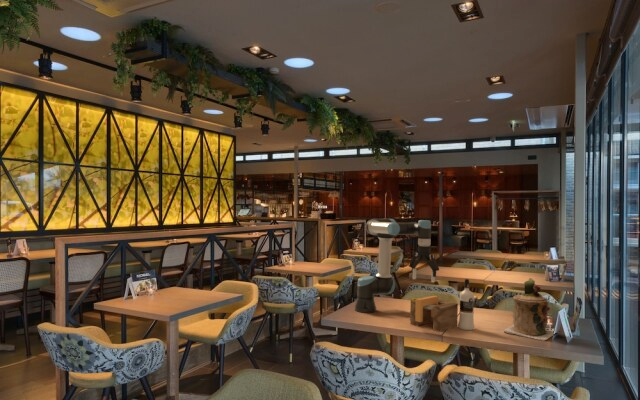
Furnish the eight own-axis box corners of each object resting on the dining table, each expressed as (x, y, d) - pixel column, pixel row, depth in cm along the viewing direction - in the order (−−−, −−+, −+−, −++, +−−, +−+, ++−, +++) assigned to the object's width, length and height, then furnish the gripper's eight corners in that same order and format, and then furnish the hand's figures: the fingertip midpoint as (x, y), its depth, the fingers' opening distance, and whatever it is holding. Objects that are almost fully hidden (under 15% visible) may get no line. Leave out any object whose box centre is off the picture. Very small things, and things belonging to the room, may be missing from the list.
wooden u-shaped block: (415, 321, 276) (415, 299, 276) (433, 316, 289) (433, 295, 289) (420, 322, 273) (420, 300, 274) (438, 317, 286) (438, 296, 286)
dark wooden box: (410, 324, 288) (410, 301, 288) (427, 319, 300) (427, 298, 301) (441, 331, 272) (441, 307, 272) (457, 326, 284) (457, 303, 284)
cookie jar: (501, 333, 272) (502, 278, 272) (516, 325, 290) (516, 274, 290) (546, 341, 255) (547, 283, 255) (559, 333, 274) (559, 279, 274)
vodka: (469, 326, 285) (469, 277, 286) (477, 330, 276) (478, 280, 277) (455, 326, 283) (456, 278, 284) (463, 331, 274) (464, 280, 275)
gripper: (403, 244, 287) (403, 278, 287) (438, 247, 268) (437, 284, 268) (411, 243, 292) (410, 277, 292) (445, 247, 273) (444, 282, 273)
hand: (423, 280), depth 280 cm, fingers open, 13 cm apart
